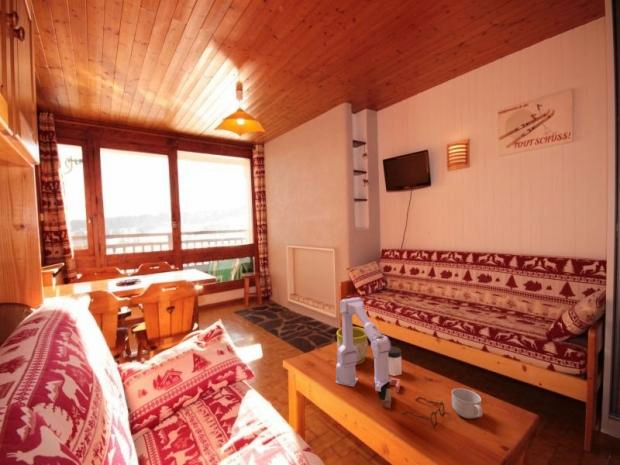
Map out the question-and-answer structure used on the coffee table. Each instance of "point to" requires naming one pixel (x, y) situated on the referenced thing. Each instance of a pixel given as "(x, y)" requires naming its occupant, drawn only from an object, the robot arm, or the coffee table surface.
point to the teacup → (466, 403)
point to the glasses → (431, 413)
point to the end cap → (396, 384)
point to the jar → (394, 361)
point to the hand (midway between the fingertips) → (382, 399)
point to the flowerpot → (356, 342)
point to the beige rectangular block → (387, 399)
